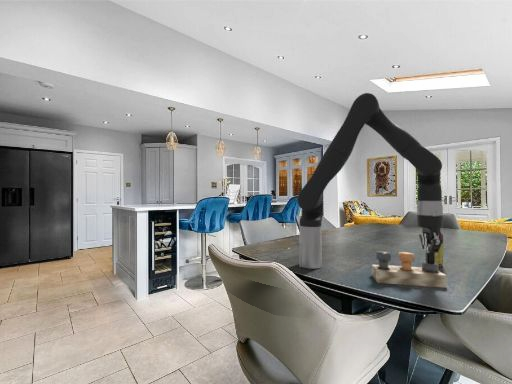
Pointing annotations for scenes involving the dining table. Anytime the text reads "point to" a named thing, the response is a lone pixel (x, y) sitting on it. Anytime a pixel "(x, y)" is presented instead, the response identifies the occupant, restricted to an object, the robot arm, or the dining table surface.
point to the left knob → (383, 259)
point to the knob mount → (408, 276)
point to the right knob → (430, 267)
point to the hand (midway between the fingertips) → (430, 263)
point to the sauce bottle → (440, 253)
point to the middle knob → (406, 260)
